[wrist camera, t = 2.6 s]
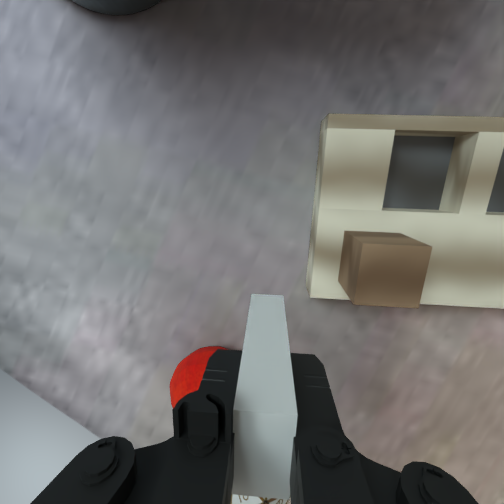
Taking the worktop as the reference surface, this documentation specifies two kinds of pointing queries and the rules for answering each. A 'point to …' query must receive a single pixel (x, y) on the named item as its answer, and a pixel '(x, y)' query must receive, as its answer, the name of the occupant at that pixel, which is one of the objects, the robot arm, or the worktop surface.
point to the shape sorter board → (414, 199)
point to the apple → (190, 373)
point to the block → (383, 268)
